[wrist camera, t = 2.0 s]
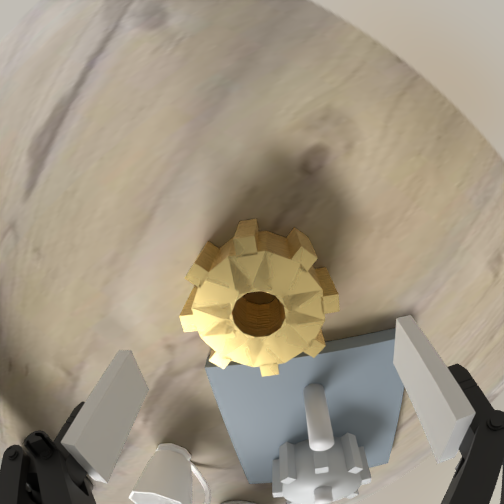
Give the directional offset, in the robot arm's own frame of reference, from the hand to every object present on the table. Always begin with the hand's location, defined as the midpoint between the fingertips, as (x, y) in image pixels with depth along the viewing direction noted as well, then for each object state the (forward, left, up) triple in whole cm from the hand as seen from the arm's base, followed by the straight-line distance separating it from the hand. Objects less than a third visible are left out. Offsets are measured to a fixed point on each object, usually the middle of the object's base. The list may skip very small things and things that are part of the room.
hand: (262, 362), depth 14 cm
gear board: (+3, -16, -9) cm, 19 cm away
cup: (-13, -22, -10) cm, 28 cm away
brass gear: (0, 0, -9) cm, 9 cm away
